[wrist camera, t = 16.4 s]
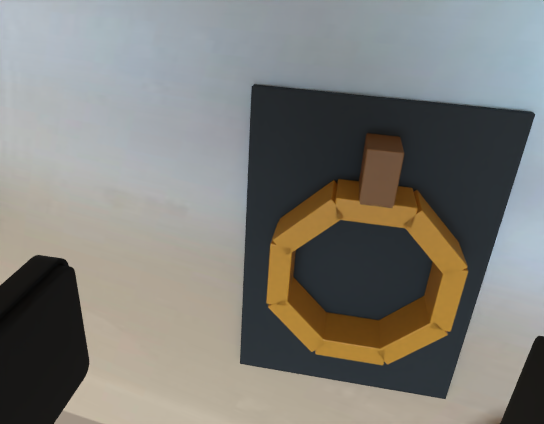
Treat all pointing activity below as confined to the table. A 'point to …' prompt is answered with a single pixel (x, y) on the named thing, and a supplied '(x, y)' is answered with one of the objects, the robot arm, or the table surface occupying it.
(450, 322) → the ring
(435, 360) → the mat
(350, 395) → the table surface
